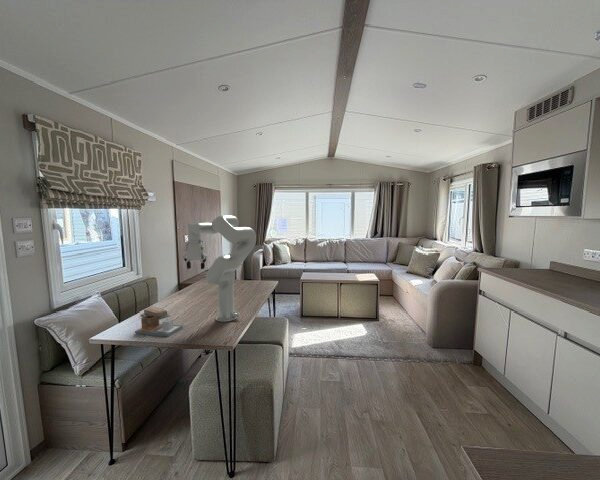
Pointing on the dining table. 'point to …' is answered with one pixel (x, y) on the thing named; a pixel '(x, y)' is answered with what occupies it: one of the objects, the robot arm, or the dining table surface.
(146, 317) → the sleeve
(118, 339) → the dining table surface
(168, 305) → the dining table surface
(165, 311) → the packaged product
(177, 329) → the pin board
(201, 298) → the dining table surface
